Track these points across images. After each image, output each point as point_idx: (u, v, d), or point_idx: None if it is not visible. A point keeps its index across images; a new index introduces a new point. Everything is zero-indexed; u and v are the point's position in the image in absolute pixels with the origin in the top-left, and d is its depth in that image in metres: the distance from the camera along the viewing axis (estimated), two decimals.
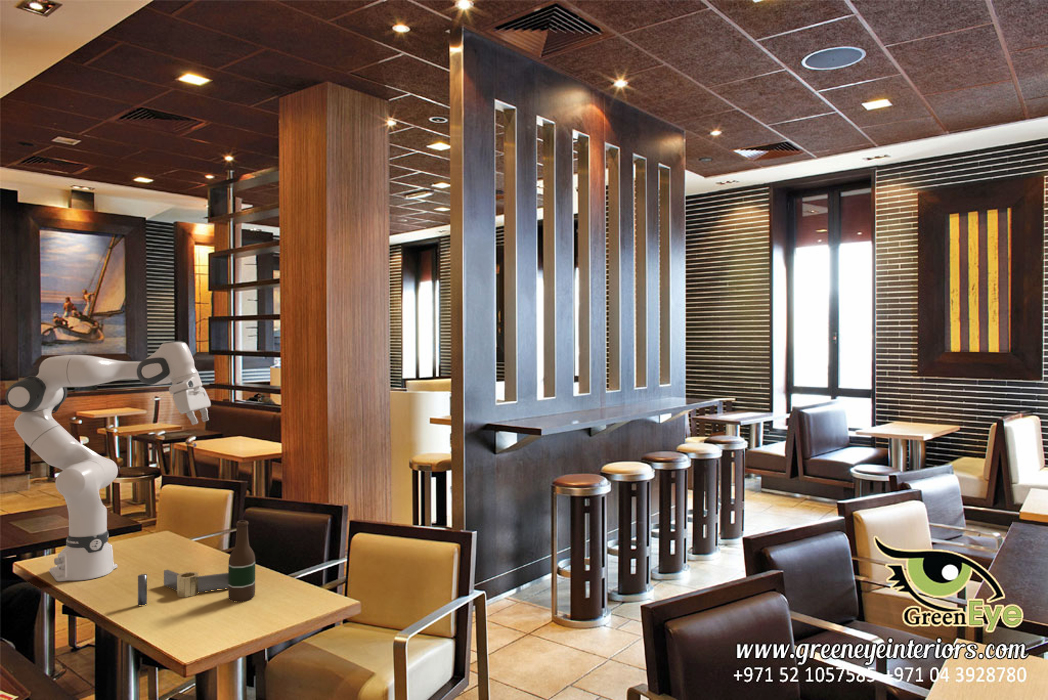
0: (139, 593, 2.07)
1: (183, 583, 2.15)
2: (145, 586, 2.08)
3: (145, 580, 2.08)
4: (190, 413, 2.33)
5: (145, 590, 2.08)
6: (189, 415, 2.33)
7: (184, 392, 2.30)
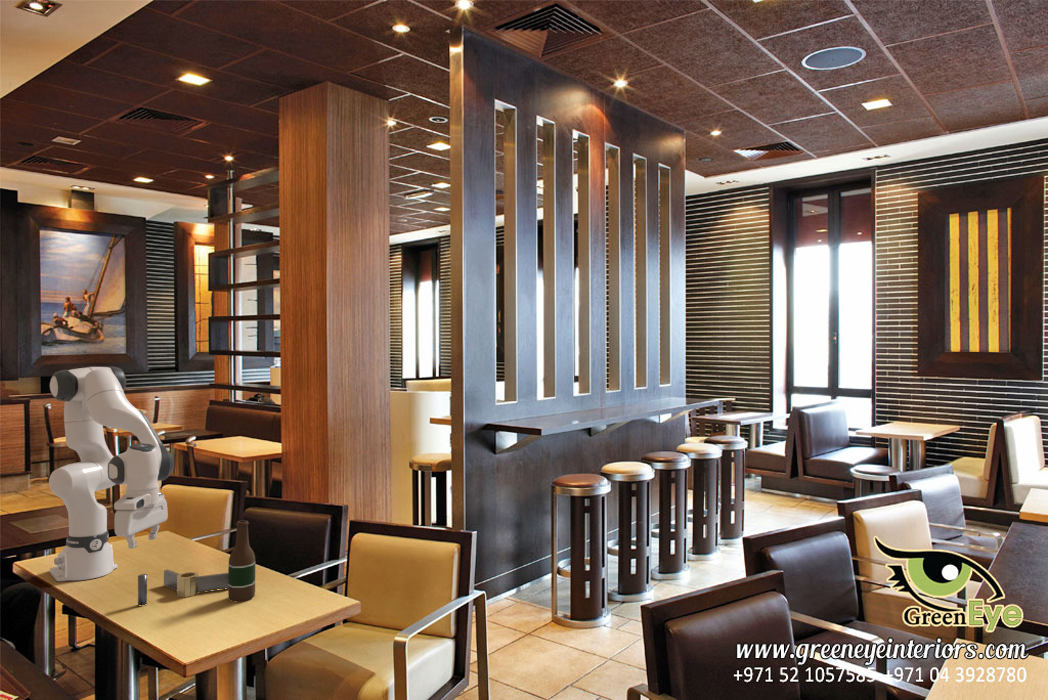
0: (139, 593, 2.07)
1: (183, 583, 2.15)
2: (145, 586, 2.08)
3: (145, 580, 2.08)
4: (129, 536, 2.02)
5: (145, 590, 2.08)
6: (127, 538, 2.02)
7: (128, 513, 1.99)
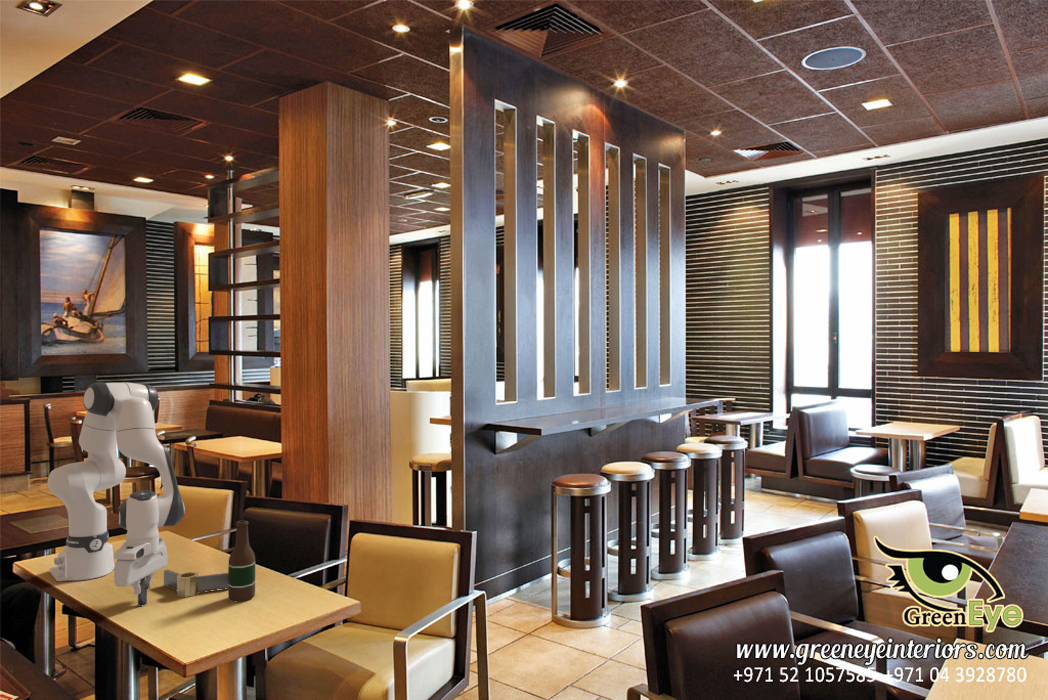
0: None
1: (183, 583, 2.15)
2: (145, 586, 2.08)
3: (145, 580, 2.08)
4: (135, 582, 2.05)
5: (145, 590, 2.08)
6: (133, 584, 2.05)
7: (127, 564, 1.99)
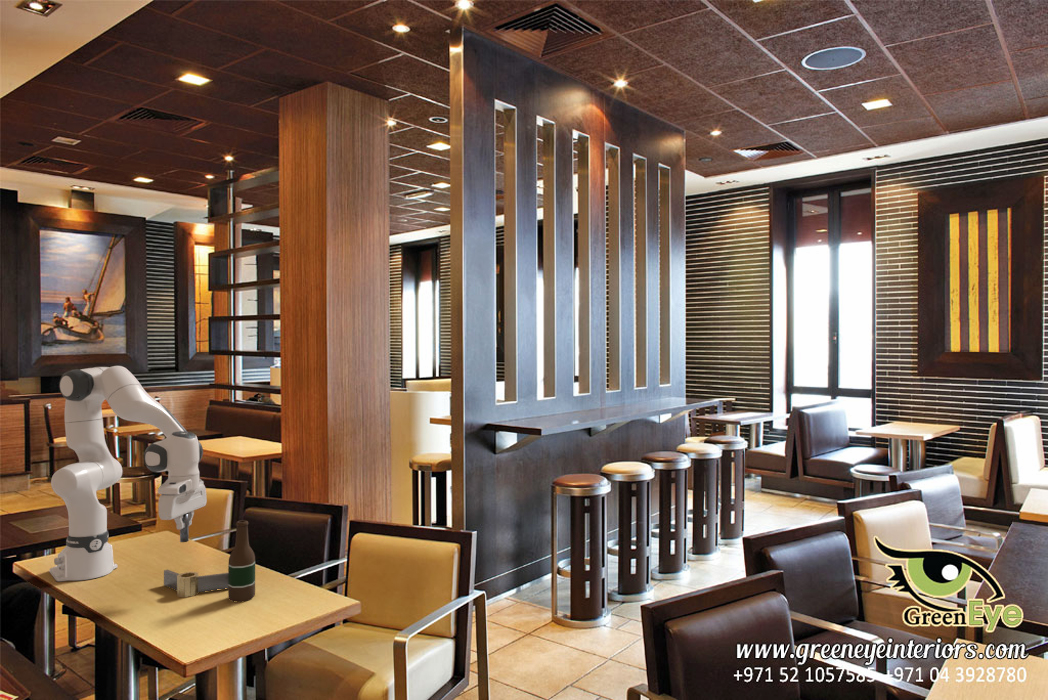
0: (181, 530, 2.15)
1: (183, 583, 2.15)
2: (187, 523, 2.16)
3: (187, 517, 2.16)
4: (177, 517, 2.13)
5: (187, 527, 2.16)
6: (176, 519, 2.13)
7: (171, 498, 2.07)
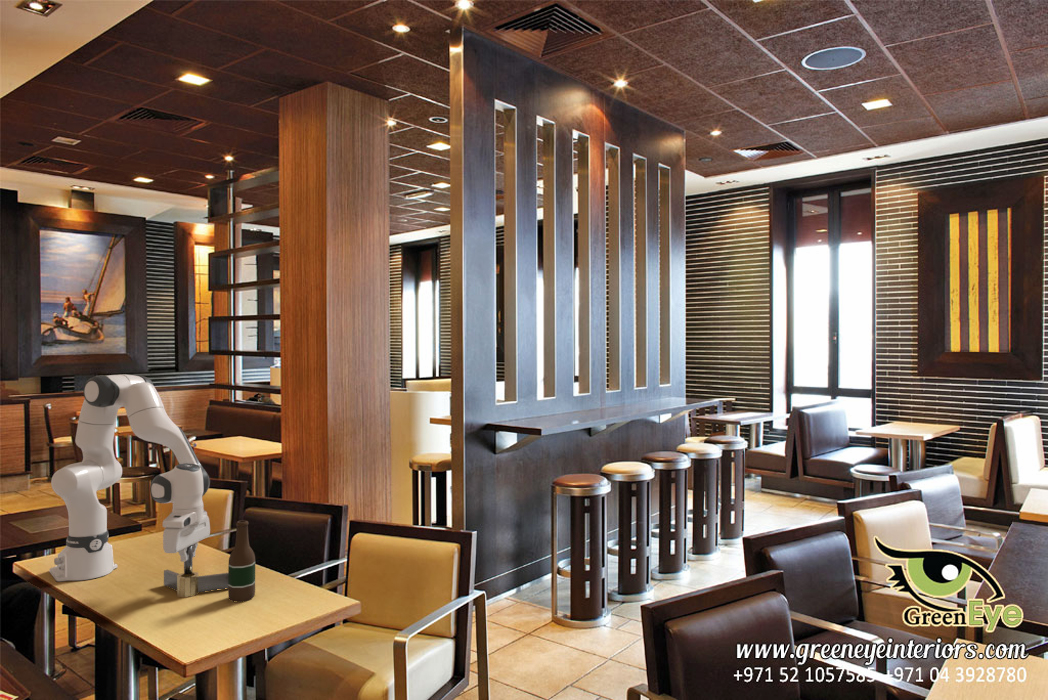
0: (185, 562, 2.17)
1: (183, 583, 2.15)
2: (191, 555, 2.17)
3: (191, 549, 2.17)
4: (182, 550, 2.14)
5: (191, 559, 2.17)
6: (180, 551, 2.14)
7: (176, 531, 2.09)
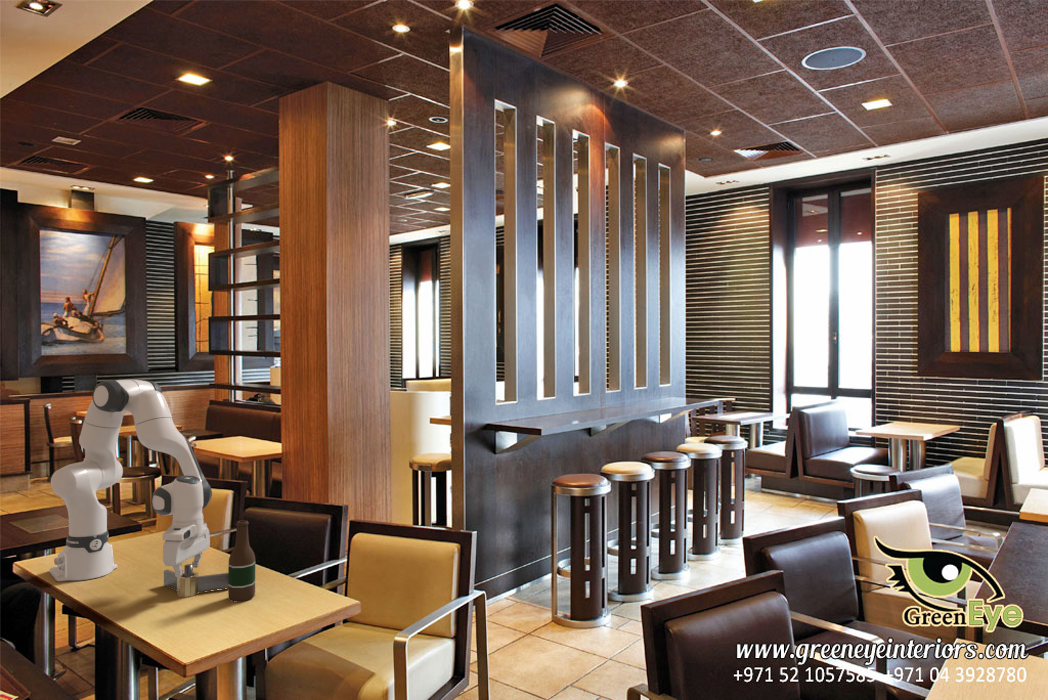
0: None
1: (183, 583, 2.15)
2: None
3: (191, 570, 2.18)
4: (176, 565, 2.11)
5: None
6: (175, 567, 2.11)
7: (176, 544, 2.09)
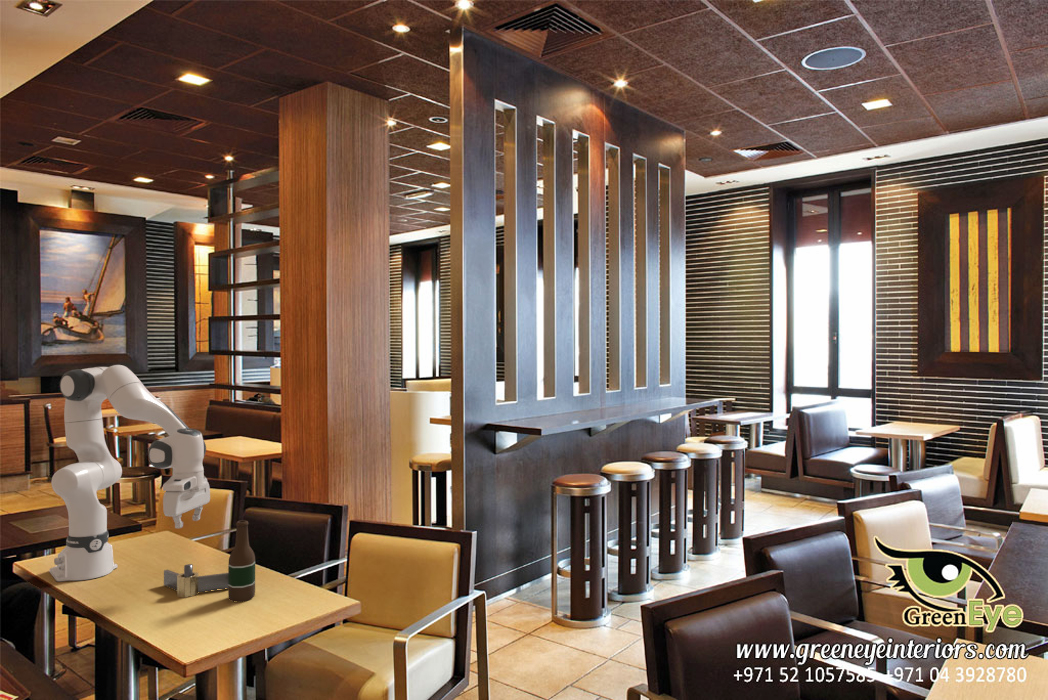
0: None
1: (183, 583, 2.15)
2: None
3: (191, 570, 2.18)
4: (176, 516, 2.11)
5: None
6: (175, 518, 2.11)
7: (176, 495, 2.09)
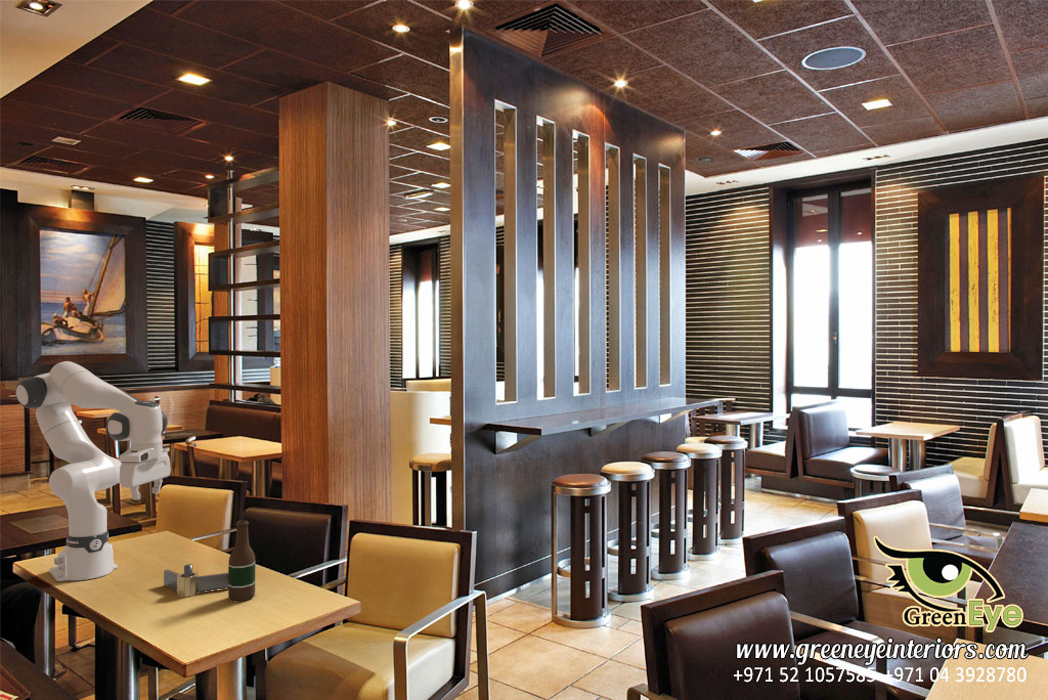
0: None
1: (183, 583, 2.15)
2: None
3: (191, 570, 2.17)
4: (133, 487, 2.10)
5: None
6: (132, 489, 2.11)
7: (132, 465, 2.08)
